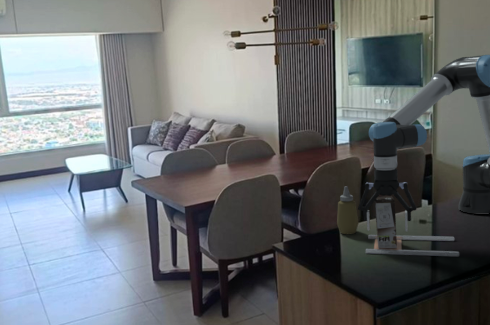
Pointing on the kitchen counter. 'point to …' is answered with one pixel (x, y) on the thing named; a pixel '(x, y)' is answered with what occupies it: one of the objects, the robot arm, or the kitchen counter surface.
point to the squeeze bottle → (347, 213)
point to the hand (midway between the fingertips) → (387, 229)
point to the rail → (415, 252)
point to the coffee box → (386, 222)
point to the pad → (388, 248)
